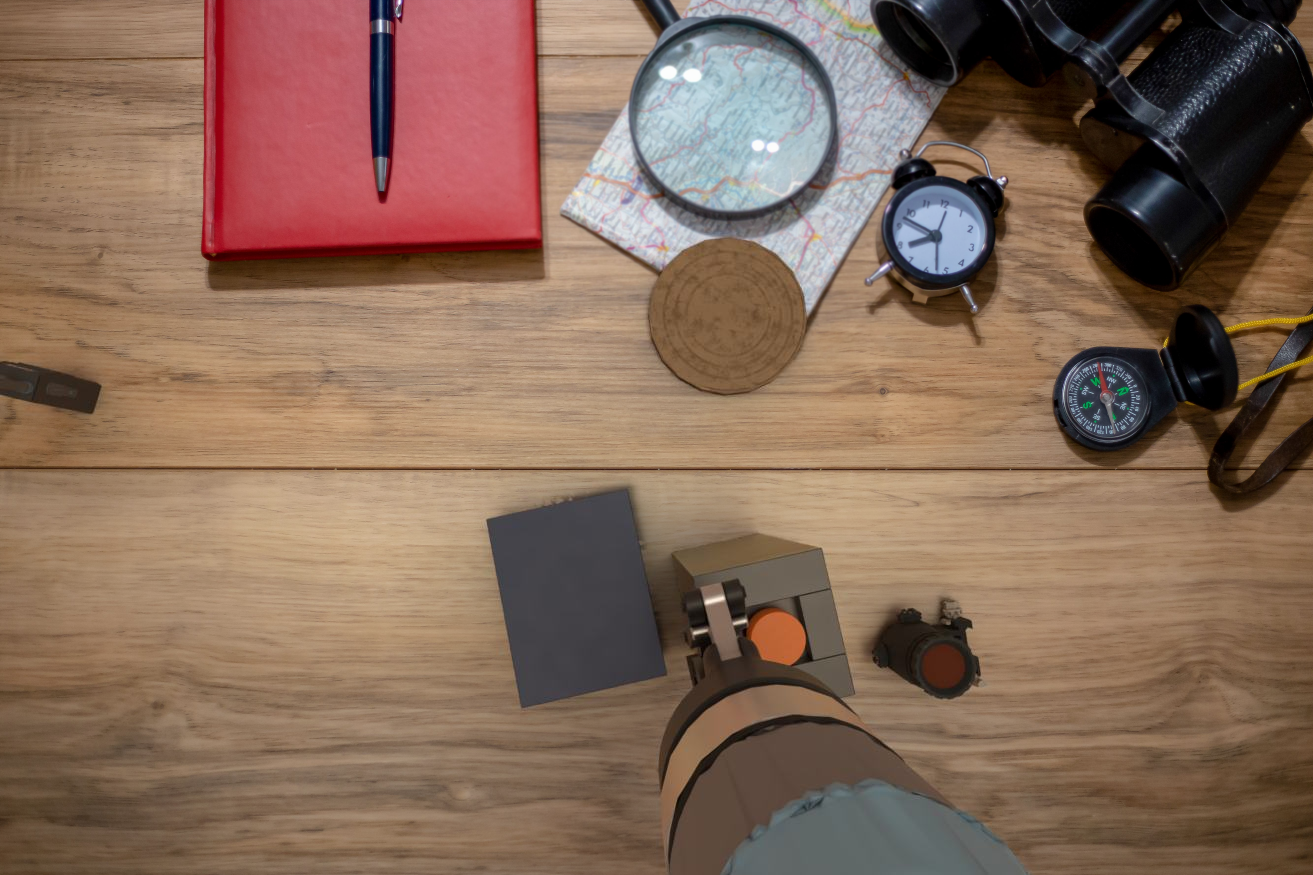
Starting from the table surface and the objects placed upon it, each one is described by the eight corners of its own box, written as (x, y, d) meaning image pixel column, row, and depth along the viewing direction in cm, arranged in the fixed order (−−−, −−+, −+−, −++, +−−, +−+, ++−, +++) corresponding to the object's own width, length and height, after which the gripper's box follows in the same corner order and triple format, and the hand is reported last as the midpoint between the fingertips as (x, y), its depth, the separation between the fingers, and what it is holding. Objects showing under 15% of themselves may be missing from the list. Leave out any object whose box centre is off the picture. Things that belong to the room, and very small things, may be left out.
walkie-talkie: (111, 384, 88) (-40, 349, 68) (101, 416, 88) (-54, 390, 68) (65, 372, 88) (-100, 334, 68) (55, 404, 88) (-114, 375, 68)
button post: (779, 629, 88) (855, 694, 58) (692, 649, 88) (724, 724, 58) (757, 532, 89) (822, 547, 59) (671, 551, 89) (692, 576, 59)
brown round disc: (645, 394, 90) (646, 390, 87) (650, 242, 91) (651, 233, 88) (799, 399, 90) (805, 396, 87) (802, 248, 91) (808, 240, 88)
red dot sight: (1023, 706, 75) (908, 723, 74) (962, 675, 89) (865, 689, 88) (1008, 611, 75) (894, 627, 75) (949, 594, 89) (853, 608, 89)
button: (804, 654, 59) (811, 661, 57) (752, 666, 59) (757, 673, 57) (792, 602, 59) (799, 606, 57) (740, 613, 59) (745, 618, 57)
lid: (667, 674, 77) (667, 675, 76) (522, 707, 77) (521, 708, 76) (627, 489, 80) (627, 488, 79) (487, 519, 79) (485, 519, 79)
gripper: (938, 971, 28) (798, 756, 52) (839, 573, 29) (745, 540, 52) (711, 1031, 28) (674, 787, 51) (618, 627, 29) (624, 570, 52)
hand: (710, 663), depth 52 cm, fingers closed
